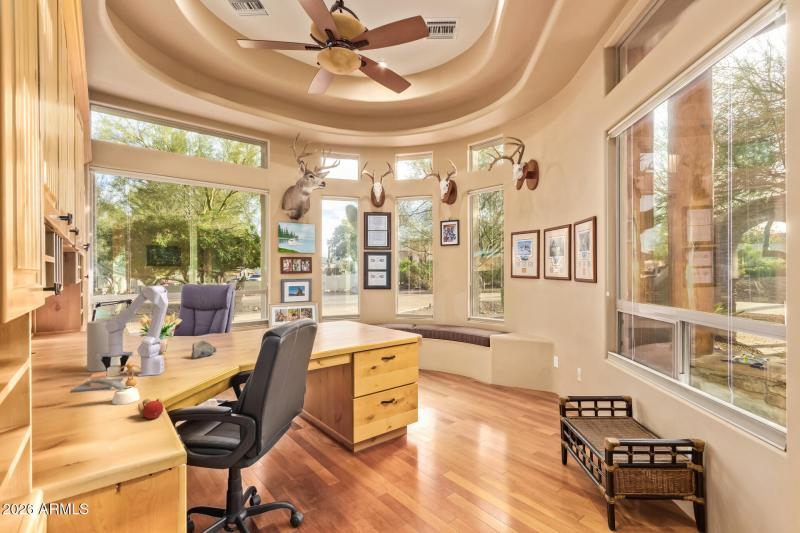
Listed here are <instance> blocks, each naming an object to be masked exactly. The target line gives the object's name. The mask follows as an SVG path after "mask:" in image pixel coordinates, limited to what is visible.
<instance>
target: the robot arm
mask: <svg viewBox="0 0 800 533" xmlns="http://www.w3.org/2000/svg"><path fill="white" fill-rule="evenodd" d="M147 301H149V302H151V303H152V304H153V305H154V307H153V313H152V315H151V318H150V322H149V326H148V329H147V333H146V336H145V337H144V338H143V340H142V341H141V343H140V345H139V346H138V348H137V353H138V355H139V356H140V368H141V370H142V371H141V370H140V373H139V374H137V377H144V376H156V375H161V374H162V373H163V372H165V356H164V355H161V354H159V352H160V351H161V350H162V339H161V338H160V336H161V331H162V328H163V326H164V322H165V318H166V314H167V311H168V306H169V299H168V290H167V289H166V287H164V286H163V285H160V284H157V285H147V286H145V287H144V288H142V289H141V291H140V292H139V294H138V295H137V297H135V299H134V300H133V301H132V302H131V304H130V305H129V306H128V307H126V308H122V309H120V310H119V313H118V314H117V315H116V316H114V317H113V319H110V320H111V321H108V322H107V324H106V326H105V328H106V330H107V331H108V353H100V354H97V358H102V359H101V361H102V362H103V364H104V366H105V368H106V372H107V368H108V367H110V363H111V357H118V358H119V363H120V365H121V367H123V366H125V365H127V362H128V361H129V358H130V357H133V356H134V351H124V350H123V349H124V346H123V345H124V344H123V343H124V330H125V329H126V326H127V323H129V322H130V320H132V319H133V318H134V317H135V312H136V311H137V310H138V309H139V308H140V307H141V306H142V305H143V304H145V302H147ZM117 355H118V356H117ZM125 368H126V367H124V368H122V369H121V371H123V372H124V371H125Z"/></svg>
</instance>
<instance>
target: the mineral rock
mask: <svg viewBox="0 0 800 533" xmlns="http://www.w3.org/2000/svg"><path fill="white" fill-rule="evenodd" d="M191 350H192V352H191V358H192V359H194V360H195V359H196V360H197V359H201V358H204V357H208V356H211V355H212V354H215V353H216V352H217V346H213V345H212V343H210V342H208V341H205V340H200V341H199V342H194V343H192V348H191Z"/></svg>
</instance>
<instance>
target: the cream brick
mask: <svg viewBox="0 0 800 533" xmlns="http://www.w3.org/2000/svg"><path fill="white" fill-rule="evenodd" d="M120 368H121V364H118V365H112V366H110V367H108V368H107V371H106V377H107V376H108V377H113V376H112V375H119V376H121V375H122V374H123V373H124V371H120V373H119V370H120ZM122 372H123V373H122ZM121 373H122V374H121ZM120 374H121V375H120Z"/></svg>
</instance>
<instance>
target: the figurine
mask: <svg viewBox="0 0 800 533" xmlns="http://www.w3.org/2000/svg"><path fill="white" fill-rule="evenodd" d="M124 367H125V368H127V369H126V374H127V380H126V381H125V384H124V385H125V386H126V387H128V386H132V387H133V388H135V387H136V385H137V380H136V379H135V378H134V374H135V370H134V369H133V367H137V369H139V370H140V372H141V371H142V370H141V366H139V365H137V364H133V363H132V361H131V360H128V363H126V365H125V366H123V367H121V368H120V370H119V373H120V371H121V369H122V368H124ZM125 368H124V369H125ZM130 373H131V378H130Z"/></svg>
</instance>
